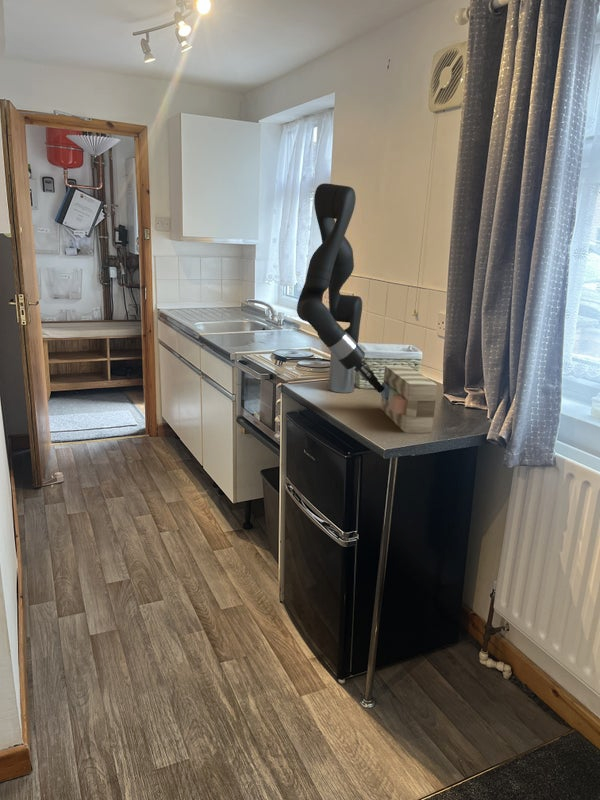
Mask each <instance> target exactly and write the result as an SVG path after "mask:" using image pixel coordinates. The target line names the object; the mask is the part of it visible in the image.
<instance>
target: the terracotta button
mask: <svg viewBox="0 0 600 800" xmlns="http://www.w3.org/2000/svg"><path fill="white" fill-rule="evenodd" d="M405 407H406V399H405V398H404V397H402V396H391V403H390V410H391V411H392V412H393V413H404V414H405Z"/></svg>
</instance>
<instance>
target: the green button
mask: <svg viewBox="0 0 600 800" xmlns="http://www.w3.org/2000/svg"><path fill="white" fill-rule="evenodd" d="M397 393H398V391H396V390H395V389H389V398H388V402H389V403H391V396H397Z"/></svg>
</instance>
